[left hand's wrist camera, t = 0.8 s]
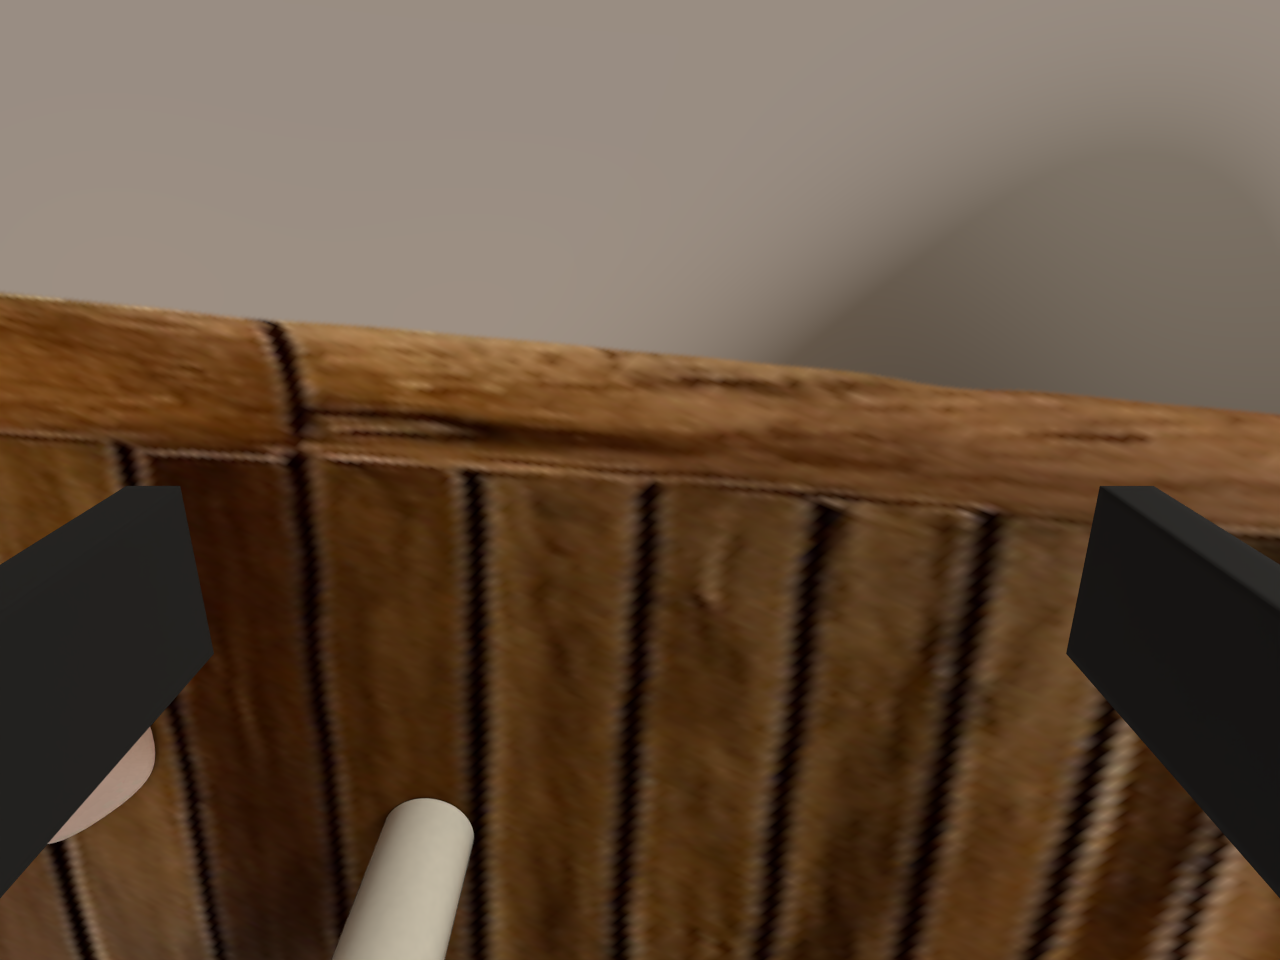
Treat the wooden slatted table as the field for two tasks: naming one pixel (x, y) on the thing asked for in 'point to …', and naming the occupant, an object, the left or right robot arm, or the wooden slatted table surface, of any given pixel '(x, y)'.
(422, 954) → the bottle
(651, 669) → the wooden slatted table surface
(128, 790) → the anatomical model
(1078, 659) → the left robot arm
